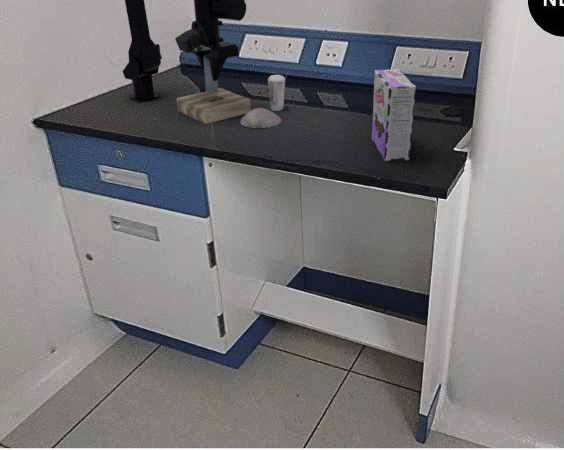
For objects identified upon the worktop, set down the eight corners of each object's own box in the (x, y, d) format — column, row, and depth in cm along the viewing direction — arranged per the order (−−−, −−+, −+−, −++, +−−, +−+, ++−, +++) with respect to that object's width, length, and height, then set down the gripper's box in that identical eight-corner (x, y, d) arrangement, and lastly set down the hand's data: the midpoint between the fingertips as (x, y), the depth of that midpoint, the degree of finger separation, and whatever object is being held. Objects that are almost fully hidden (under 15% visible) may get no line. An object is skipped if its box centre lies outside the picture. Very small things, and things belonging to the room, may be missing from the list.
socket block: (177, 111, 168) (176, 98, 166) (221, 100, 176) (220, 88, 174) (206, 124, 158) (204, 110, 157) (250, 112, 166) (250, 99, 164)
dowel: (203, 90, 164) (200, 56, 160) (213, 88, 166) (211, 54, 162) (210, 93, 162) (207, 58, 158) (220, 90, 164) (218, 56, 160)
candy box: (370, 139, 147) (373, 68, 139) (395, 137, 147) (400, 67, 139) (383, 161, 135) (388, 86, 127) (410, 160, 135) (416, 85, 127)
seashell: (232, 117, 154) (246, 96, 161) (236, 136, 158) (249, 115, 165) (272, 119, 151) (284, 98, 158) (274, 138, 155) (286, 117, 162)
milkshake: (286, 112, 165) (286, 74, 160) (267, 111, 166) (265, 74, 161) (290, 107, 169) (289, 70, 164) (270, 106, 170) (269, 69, 165)
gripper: (159, 16, 157) (166, 77, 165) (199, 27, 144) (204, 93, 152) (197, 10, 163) (202, 70, 171) (238, 20, 150) (241, 84, 158)
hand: (211, 79), depth 163 cm, fingers closed on dowel, 3 cm apart
